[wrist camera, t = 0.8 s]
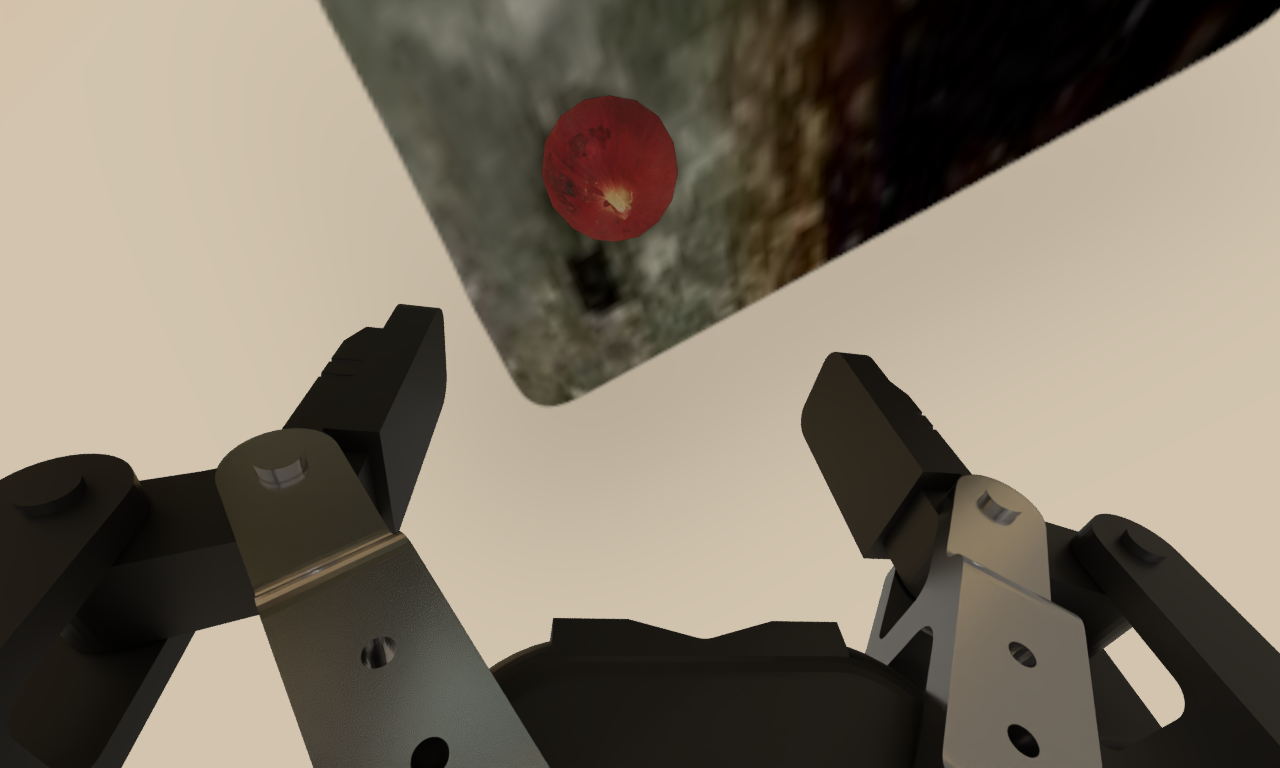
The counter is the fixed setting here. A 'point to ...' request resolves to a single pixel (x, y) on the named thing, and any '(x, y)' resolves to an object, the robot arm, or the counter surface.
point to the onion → (610, 168)
